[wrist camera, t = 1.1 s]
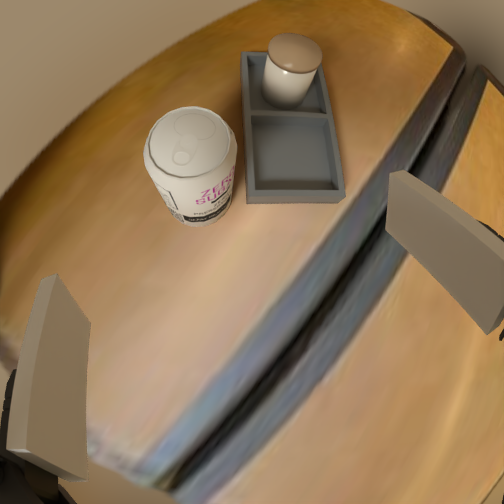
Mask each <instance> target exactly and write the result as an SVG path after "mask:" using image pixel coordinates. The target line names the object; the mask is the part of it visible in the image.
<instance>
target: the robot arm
mask: <svg viewBox="0 0 504 504" xmlns="http://www.w3.org/2000/svg"><path fill="white" fill-rule="evenodd" d="M385 230H386V231H387V232H388V233H389V234H390V235H392V236H393V237H394V238H395V239H396V240H397V241H398V242H399V243H400V244H401V245H402V246H403V247H404V248H405V249H406V250H407V251H408V252H409V253H410V254H411V255H412V256H414V257H415V258H416V259H417V260H418V261H419V262H420V263H421V264H422V265H423V266H424V267H425V268H426V269H427V270H428V271H429V272H430V273H431V274H432V276H433V277H434V278H435V279H436V280H437V281H438V282H439V283H440V284H441V285H442V286H443V287H444V288H445V289H446V290H447V291H448V292H449V293H450V294H451V295H452V297H453V298H454V299H455V300H456V301H457V302H458V303H459V304H460V305H461V306H462V307H463V309H464V310H465V311H466V312H467V313H468V314H469V315H470V316H471V318H472V319H473V320H474V321H475V322H476V323H477V324H478V326H479V327H480V328H481V329H482V330H483V331H484V333H485V334H486V335H488V334H489V333H491V332H492V331H493V330H494V329H496V328H497V327H498V326H499V325H500V324H501V322H502V320H503V318H504V238H503V237H502V236H501V235H498V233H497V232H496V231H494V230H493V229H492V228H491V227H489V226H488V225H486V224H484V223H482V222H480V221H478V220H476V219H474V218H473V217H472V216H470V215H469V214H468V213H466V212H465V211H464V210H462V209H461V208H460V207H458V206H457V205H455V204H454V203H453V202H451V201H450V200H448V199H447V198H446V197H444V196H443V195H441V194H440V193H438V192H437V191H435V190H434V189H432V188H431V187H429V186H428V185H426V184H425V183H423V182H422V181H420V180H419V179H417V178H416V177H414V176H413V175H411V174H409V173H408V172H406V171H405V170H401V171H397V172H393V173H390V176H389V193H388V206H387V218H386V228H385ZM90 327H91V323H90V321H89V320H88V318H87V317H86V316H85V314H84V313H83V311H82V310H81V309H80V307H79V306H78V304H77V303H76V301H75V300H74V298H73V297H72V295H71V294H70V293H69V291H68V289H67V288H66V286H65V285H64V283H63V282H62V280H61V279H60V277H59V275H58V274H57V273H56V274H54V275H51V276H48V277H45V278H43V279H41V282H40V285H39V288H38V291H37V294H36V297H35V300H34V304H33V307H32V310H31V314H30V317H29V321H28V324H27V328H26V332H25V336H24V340H23V344H22V348H21V352H20V357H19V361H18V366H17V369H15V370H13V372H12V374H11V376H10V378H9V380H8V382H7V386H6V391H5V400H4V404H3V410H4V411H3V412H2V418H1V426H0V504H77V503H76V502H75V501H74V500H73V498H72V497H71V496H70V495H69V494H68V492H67V491H66V490H65V489H64V488H63V487H62V486H61V485H60V484H58V477H60V478H62V479H64V480H67V481H69V482H80V481H81V482H82V481H89V476H88V463H87V462H88V461H87V441H86V386H87V364H88V350H89V338H90ZM503 338H504V329H503V331H502V332H501V334H500V337H499V340H500V341H502V339H503ZM502 504H504V495H503V500H502Z"/></svg>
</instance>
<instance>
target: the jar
mask: <svg viewBox="0 0 504 504" xmlns="http://www.w3.org/2000/svg"><path fill="white" fill-rule="evenodd" d="M322 57H323V55H322V51H321V49H320V47H319V46H318V45H317V44H316V43H315V42H314V41H313V40H311V39H309V38H308V37H305V36H303V35H300V34H295V33H284V34H279V35H277V36H275V37H274V38H272V39H271V41H270V43H269V47H268V55H267V60H266V65H265V69H264V74H263V79H262V84H261V95H262V97H263V98H264V100H265V101H266V102H267V103H269V104H270V105H272V106H274V107H276V108H280V109H293V108H296V107H298V106H299V105H301V103H302V102H303V101H304V98H305V96H306V94H307V91H308V89H309V87H310V84H311V82H312V80H313V77H314V75H315V73H316V70H317V68H318V67H319V65H320V63H321V61H322Z"/></svg>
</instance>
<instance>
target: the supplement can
mask: <svg viewBox="0 0 504 504" xmlns="http://www.w3.org/2000/svg"><path fill="white" fill-rule="evenodd" d="M143 154H144V161H145V167H146V169H147V171H148V173H149V174H150V176H151V178H152V180H153V182H154V184H155V185H156V187H157V189H158V191H159V193H160V194H161V196H162V198H163V200H164V201H165V203H166V205H167V207H168V208H169V210H170V212H171V213H172V215H173V217H175V218H176V219H177V220H179V221H180V222H181V223H182V224H186V225H189V226H192V227H201V226H207V225H210V224H212V223H215V222H217V221H218V220H219V219H220V218H221V217H222V216H223V215H225V213H226V211H227V210H228V208H229V206H230V204H231V197H232V188H233V180H234V171H235V162H236V154H237V143H236V139H235V135H234V132H233V131H232V130H231V128H230V127H229V126H228V124H227V123H226V122H225V121H224V120H223V119H222V118H221V117H220V116H219V115H217V114H216V113H214V112H212V111H211V110H209V109H205V108H201V107H197V106H193V107H181V108H178V109H176V110H173V111H170V112H168V113H167V114H165V115H164V116H163V117H161V118H160V119H159V120H158V121H157V122H156V123H155V125H154V126H153V128H152V129H151V131H150V133H149V136H148V137H147V140H146V144H145V148H144V152H143Z"/></svg>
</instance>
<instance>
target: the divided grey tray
mask: <svg viewBox="0 0 504 504" xmlns="http://www.w3.org/2000/svg"><path fill="white" fill-rule="evenodd" d="M267 55H268V53H266V52H241V59H240V75H241V96H242V117H243V138H244V159H245V180H246V200H247V204H275V203H339V202H340V201H341V200H342V199H344V198H345V197H346V194H345V186H344V179H343V173H342V166H341V160H340V153H339V147H338V141H337V136H336V130H335V125H334V120H333V114H332V109H331V104H330V99H329V95H328V90H327V85H326V81H325V77H324V72H323V68H322V64H321V63H320V65H319V67H318V68H317V70H316V73H315V75H314V77H313V80H312V82H311V84H310V87H309V89H308V91H307V94H306V96H305V98H304V101H303V102H302V103H301V105H299V106H298V107H296V108H293V109H280V108H276V107H274V106H272V105H270V104H269V103H267V102H266V101H265V100H264V98H263V97H262V95H261V84H262V79H263V74H264V69H265V65H266V60H267Z"/></svg>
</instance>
